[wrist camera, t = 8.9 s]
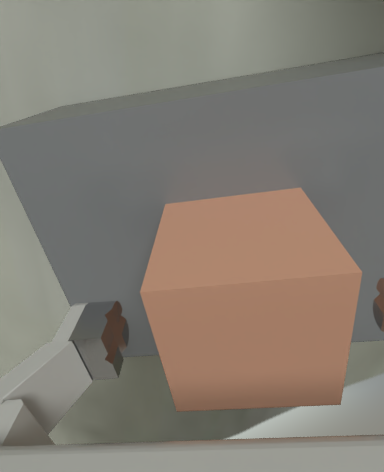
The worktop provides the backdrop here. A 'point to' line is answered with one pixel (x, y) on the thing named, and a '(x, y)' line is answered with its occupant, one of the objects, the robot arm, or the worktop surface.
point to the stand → (201, 172)
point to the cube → (251, 302)
